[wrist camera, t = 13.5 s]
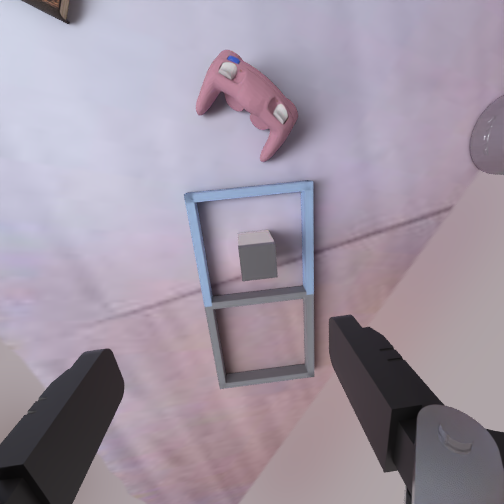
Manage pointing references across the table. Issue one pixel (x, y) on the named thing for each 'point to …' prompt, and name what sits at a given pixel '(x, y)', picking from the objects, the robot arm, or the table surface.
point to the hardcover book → (52, 7)
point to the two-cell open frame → (264, 295)
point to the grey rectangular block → (257, 255)
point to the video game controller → (249, 98)
